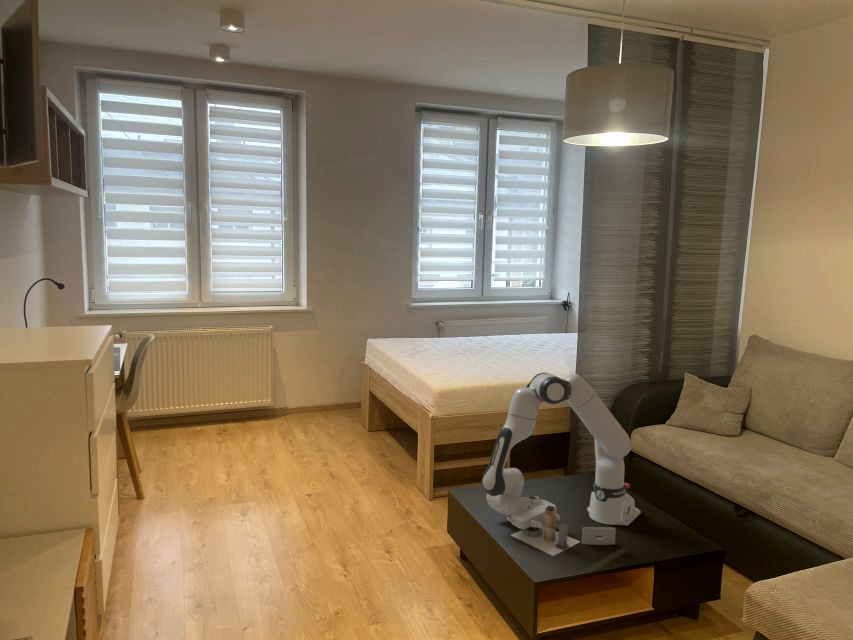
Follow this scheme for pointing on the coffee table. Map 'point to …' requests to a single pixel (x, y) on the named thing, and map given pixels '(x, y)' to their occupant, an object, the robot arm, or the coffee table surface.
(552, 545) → the plate
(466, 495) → the coffee table surface
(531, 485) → the coffee table surface
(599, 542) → the cassette
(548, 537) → the wooden leg
